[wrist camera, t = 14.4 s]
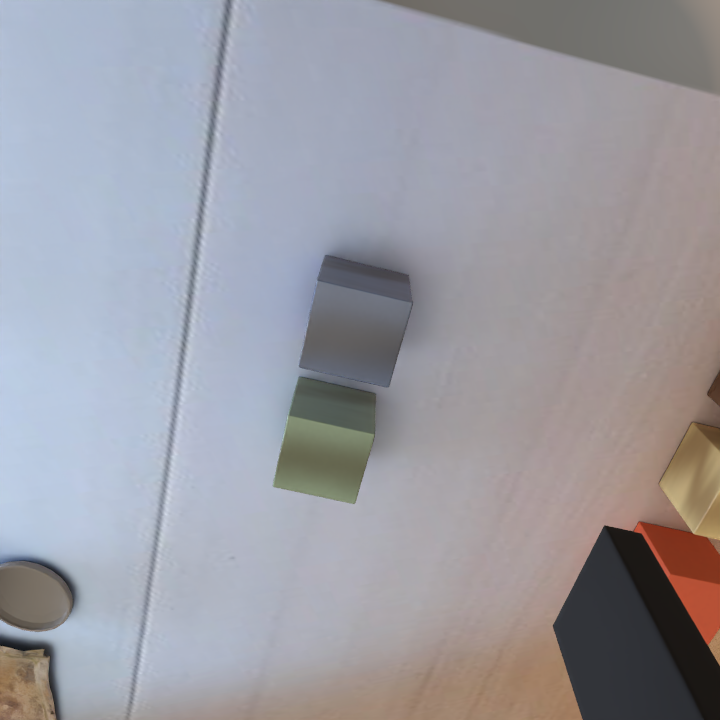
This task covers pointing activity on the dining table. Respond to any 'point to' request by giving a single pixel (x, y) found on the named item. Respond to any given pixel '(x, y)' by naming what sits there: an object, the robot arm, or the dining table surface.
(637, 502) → the dining table surface
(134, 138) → the dining table surface
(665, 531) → the block
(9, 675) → the parchment
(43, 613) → the pocket watch
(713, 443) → the row of colored cubes
